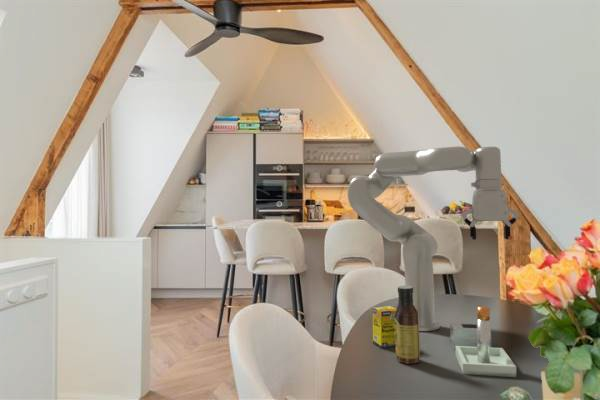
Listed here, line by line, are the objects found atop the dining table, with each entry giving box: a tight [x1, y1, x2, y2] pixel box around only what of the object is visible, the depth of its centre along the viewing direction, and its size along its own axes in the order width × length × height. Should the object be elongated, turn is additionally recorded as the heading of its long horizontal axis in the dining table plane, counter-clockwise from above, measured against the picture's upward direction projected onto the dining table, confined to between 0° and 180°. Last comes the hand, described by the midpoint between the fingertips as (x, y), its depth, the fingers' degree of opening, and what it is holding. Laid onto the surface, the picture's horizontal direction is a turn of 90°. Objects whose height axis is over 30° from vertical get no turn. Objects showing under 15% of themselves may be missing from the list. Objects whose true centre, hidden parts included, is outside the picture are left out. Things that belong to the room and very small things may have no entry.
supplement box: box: [372, 305, 397, 349], centre depth 130 cm, size 6×6×11 cm
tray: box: [455, 346, 517, 378], centre depth 111 cm, size 12×14×2 cm
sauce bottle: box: [395, 285, 421, 365], centre depth 116 cm, size 7×6×20 cm
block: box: [449, 321, 492, 351], centre depth 126 cm, size 10×8×6 cm
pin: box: [476, 305, 491, 364], centre depth 111 cm, size 3×3×14 cm
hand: (490, 239), depth 138 cm, fingers open, 9 cm apart
